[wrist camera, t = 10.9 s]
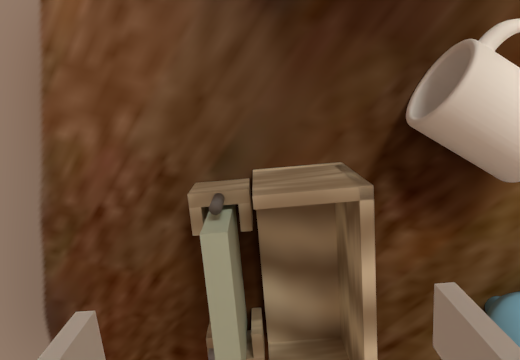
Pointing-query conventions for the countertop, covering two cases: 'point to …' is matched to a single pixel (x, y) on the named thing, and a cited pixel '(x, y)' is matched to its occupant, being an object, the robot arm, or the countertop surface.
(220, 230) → the door
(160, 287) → the countertop surface
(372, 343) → the carcass
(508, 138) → the mug
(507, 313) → the teapot
